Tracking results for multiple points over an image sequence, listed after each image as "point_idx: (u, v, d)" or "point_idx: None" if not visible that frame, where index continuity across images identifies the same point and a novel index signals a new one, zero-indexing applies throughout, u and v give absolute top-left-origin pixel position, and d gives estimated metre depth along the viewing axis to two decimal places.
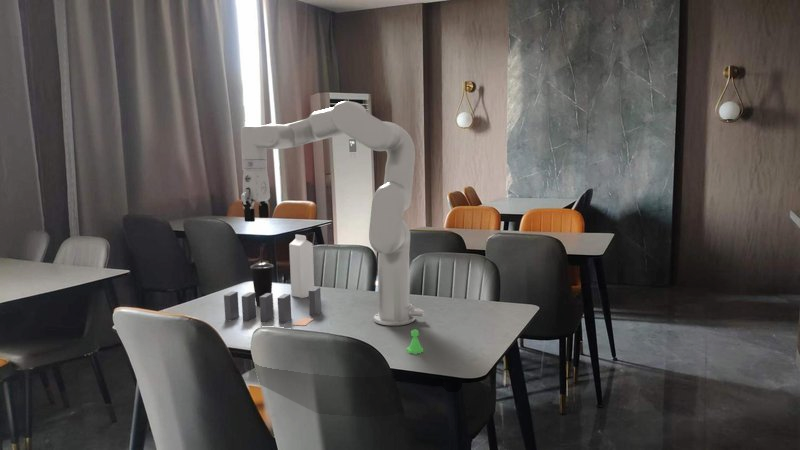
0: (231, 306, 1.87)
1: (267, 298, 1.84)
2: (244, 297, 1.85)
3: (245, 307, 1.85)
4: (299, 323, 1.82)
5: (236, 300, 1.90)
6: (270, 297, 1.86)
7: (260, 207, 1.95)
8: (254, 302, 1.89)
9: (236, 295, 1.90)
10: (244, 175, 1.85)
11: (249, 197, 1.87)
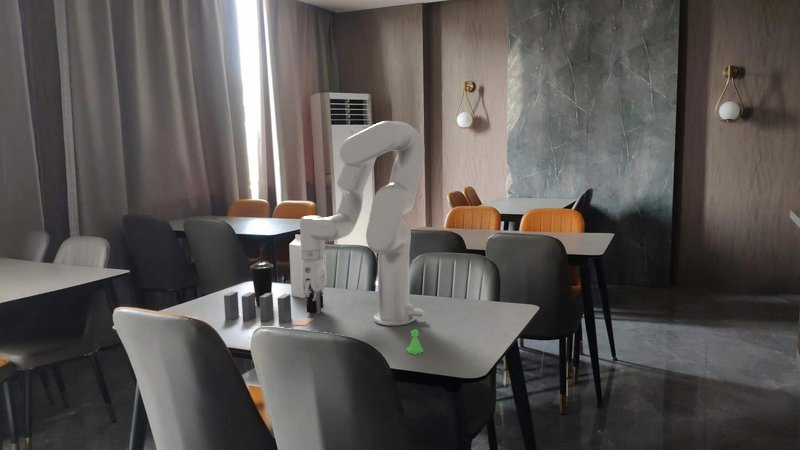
0: (231, 306, 1.87)
1: (267, 298, 1.84)
2: (244, 297, 1.85)
3: (245, 307, 1.85)
4: (299, 323, 1.82)
5: (236, 300, 1.90)
6: (270, 297, 1.86)
7: None
8: (254, 302, 1.89)
9: (236, 295, 1.90)
10: (304, 266, 1.87)
11: (309, 287, 1.90)
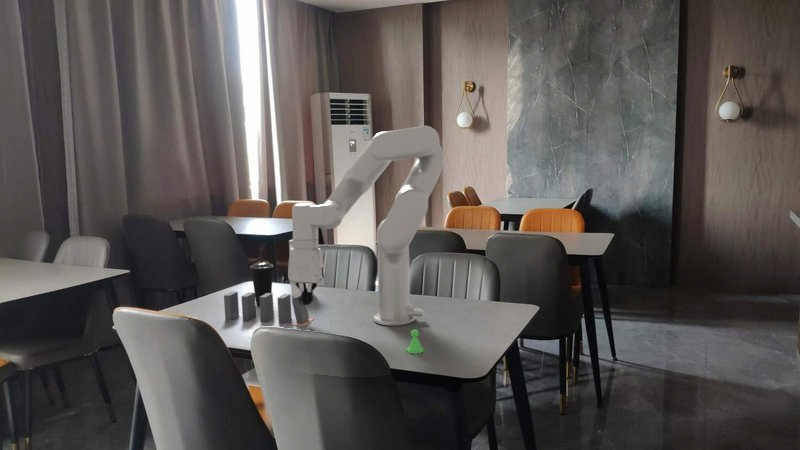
0: (231, 306, 1.87)
1: (267, 298, 1.84)
2: (244, 297, 1.85)
3: (245, 307, 1.85)
4: (299, 323, 1.82)
5: (236, 300, 1.90)
6: (270, 297, 1.86)
7: None
8: (254, 302, 1.89)
9: (236, 295, 1.90)
10: None
11: None
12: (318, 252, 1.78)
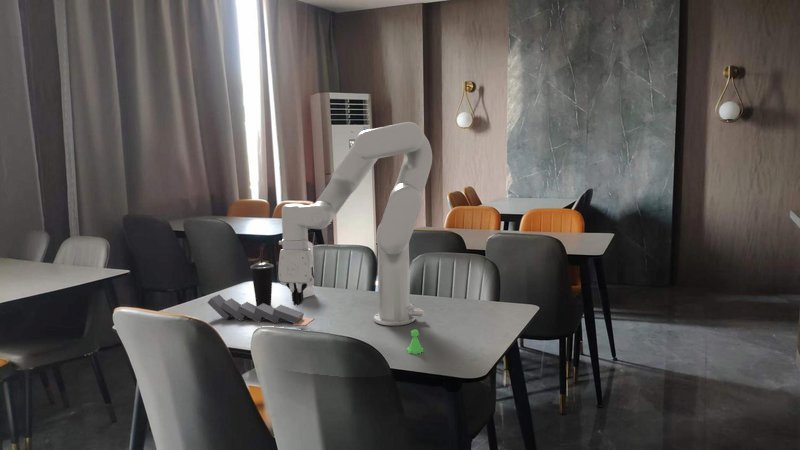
0: (219, 305, 1.88)
1: (243, 305, 1.86)
2: (222, 305, 1.87)
3: (231, 310, 1.86)
4: (299, 323, 1.82)
5: (223, 300, 1.91)
6: (247, 304, 1.89)
7: None
8: (238, 303, 1.90)
9: (220, 297, 1.91)
10: None
11: None
12: (308, 252, 1.79)
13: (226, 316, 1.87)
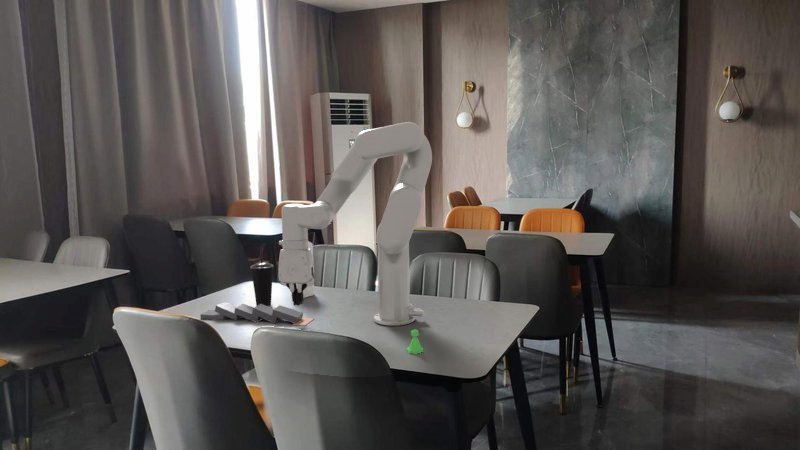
0: (210, 314, 1.89)
1: (239, 307, 1.87)
2: (216, 308, 1.89)
3: (224, 312, 1.88)
4: (299, 323, 1.82)
5: (214, 311, 1.93)
6: (243, 305, 1.89)
7: None
8: (232, 305, 1.92)
9: (210, 310, 1.93)
10: None
11: None
12: (308, 252, 1.79)
13: (221, 318, 1.88)
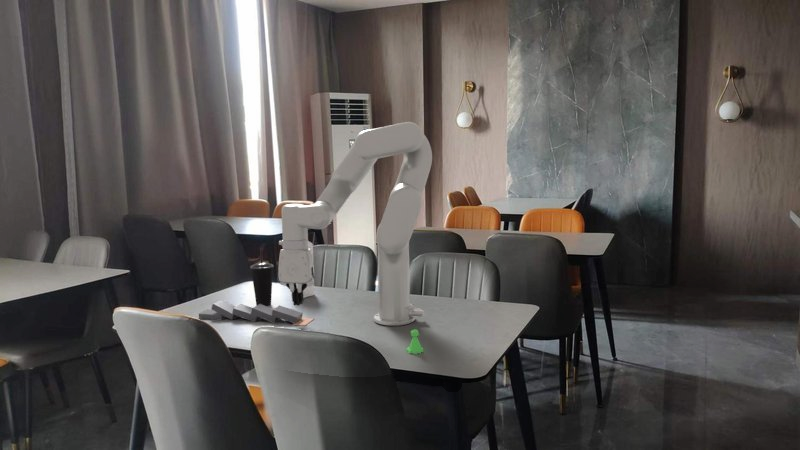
0: (209, 313, 1.90)
1: (237, 307, 1.87)
2: (212, 306, 1.89)
3: (221, 310, 1.88)
4: (299, 323, 1.82)
5: (212, 310, 1.93)
6: (241, 306, 1.89)
7: None
8: (228, 304, 1.92)
9: (208, 310, 1.94)
10: None
11: None
12: (308, 252, 1.79)
13: (219, 317, 1.88)
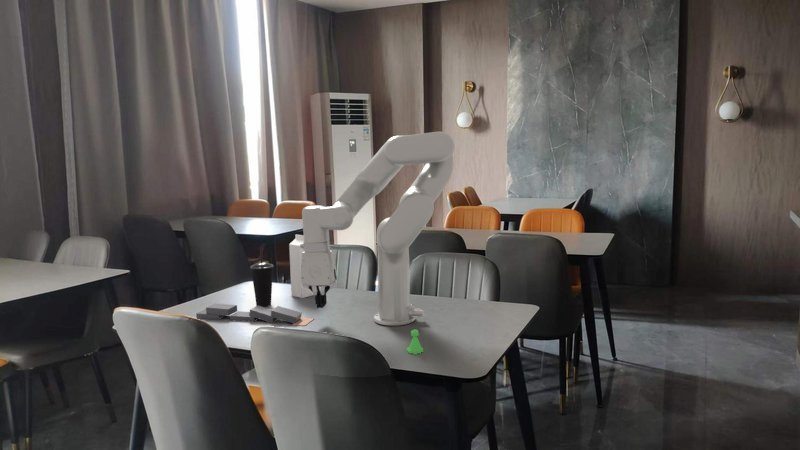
0: None
1: (234, 314, 1.88)
2: (207, 310, 1.90)
3: (215, 310, 1.89)
4: (299, 323, 1.82)
5: None
6: (238, 312, 1.90)
7: None
8: (222, 304, 1.93)
9: None
10: None
11: None
12: (330, 254, 1.78)
13: (217, 317, 1.89)
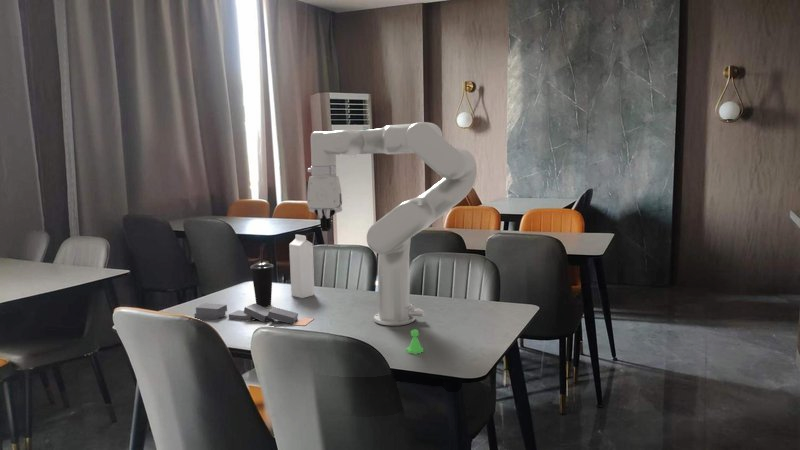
0: None
1: (232, 313, 1.89)
2: (196, 310, 1.90)
3: (205, 310, 1.89)
4: (299, 323, 1.82)
5: None
6: (237, 311, 1.91)
7: None
8: (212, 304, 1.93)
9: None
10: None
11: None
12: (336, 178, 1.83)
13: (215, 317, 1.89)
